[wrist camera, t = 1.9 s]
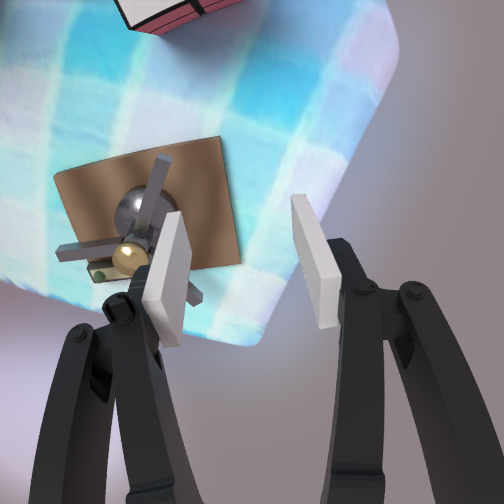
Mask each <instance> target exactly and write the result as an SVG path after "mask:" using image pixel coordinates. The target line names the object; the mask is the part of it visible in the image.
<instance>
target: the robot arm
mask: <svg viewBox="0 0 504 504" xmlns="http://www.w3.org/2000/svg"><path fill="white" fill-rule="evenodd" d="M291 210H292V226H293V240H294V243H295V247H296V250H297V253H298V257H299V260H300V264H301V267H302V270H303V274H304V277H305V281H306V284H307V287H308V291H309V295H310V298H311V302H312V305H313V309H314V312H315V316H316V320H317V323H318V327H319V329H324V328H330V327H336V326H337V322H338V319H339V322H340V325H341V330H340V338H339V359H338V371H337V383H336V395H335V404H334V414H333V423H332V431H331V439H330V446H329V454H328V461H327V467H326V474H325V480H324V486H323V492H322V495H321V500H320V504H384V494H385V475H384V473H383V471H382V460H383V459H382V458H383V442H384V352H383V340H388V341H389V344H390V347H391V350H392V352H393V355H394V358H395V361H396V364H397V367H398V370H399V373H400V375H401V379H402V382H403V385H404V388H405V391H406V394H407V398H408V401H409V404H410V407H411V411H412V414H413V417H414V421H415V424H416V428H417V431H418V435H419V438H420V442H421V446H422V450H423V454H424V458H425V461H426V466H427V470H428V474H429V478H430V483H431V486H432V491H433V496H434V499H435V503H436V504H504V456H503V452H502V449H501V446H500V443H499V440H498V437H497V435H496V432H495V429H494V426H493V423H492V421H491V418H490V415H489V413H488V410H487V408H486V405H485V403H484V400H483V398H482V395H481V393H480V390H479V388H478V386H477V384H476V381H475V379H474V376H473V374H472V372H471V370H470V367H469V365H468V363H467V361H466V359H465V357H464V354H463V352H462V350H461V348H460V346H459V344H458V342H457V340H456V338H455V336H454V334H453V332H452V330H451V328H450V326H449V324H448V322H447V320H446V319H445V317H444V315H443V313H442V311H441V309H440V307H439V305H438V303H437V302H436V300H435V298H434V296H433V294H432V293H431V291H430V289H429V288H428V287H427V286H426V285H424V284H422V283H420V282H416V281H408V282H405V283H403V284H402V285H401V286H400V289H399V290H387V289H381V288H379V287H378V285H377V284H376V283H375V282H374V281H372V280H370V279H368V278H367V276H366V274H365V272H364V270H363V268H362V267H361V264H360V263H359V261H358V259H357V257H356V255H355V253H354V252H353V249H352V247H351V245H350V244H349V243H348V242H347V241H345V240H344V239H343V238H337V239H329V240H326V238H325V236H324V234H323V232H322V229H321V227H320V225H319V223H318V221H317V218H316V216H315V214H314V212H313V210H312V208H311V205H310V203H309V201H308V199H307V197H306V195H305V194H298V195H291ZM191 258H192V251H191V247H190V243H189V240H188V236H187V232H186V228H185V225H184V221H183V217H182V213H181V211H177V212H171V213H167V215H166V218H165V221H164V224H163V227H162V231H161V234H160V237H159V240H158V244H157V247H156V250H155V254H154V257H153V260H152V264H149V265H141V266H139V267H138V269H137V270H136V271H135V272H134V273H133V276H132V280H131V283H130V286H129V289H128V292H119V293H116V294H113V295H111V296H110V297H109V298H107V299H106V300H105V302H104V303H103V306H102V310H103V312H104V314H105V315H106V317H107V319H108V321H109V322H110V324H109V325H106V326H104V327H101V328H98V329H95V330H94V329H93V327H92V326H91V325H89V324H87V323H82V324H78V325H76V326H75V327H73V328H72V329H71V330H70V331H69V332H68V334H67V336H66V339H65V342H64V345H63V348H62V351H61V354H60V358H59V361H58V364H57V368H56V371H55V374H54V378H53V381H52V385H51V389H50V392H49V396H48V400H47V404H46V408H45V412H44V417H43V421H42V425H41V429H40V435H39V439H38V444H37V449H36V455H35V460H34V466H33V472H32V479H31V486H30V494H29V503H28V504H105V494H106V492H105V491H106V478H107V464H108V453H109V443H110V434H111V425H112V417H113V410H114V403H115V398H116V407H117V415H118V422H119V428H120V436H121V442H122V448H123V454H124V460H125V465H126V470H127V475H128V480H129V485H130V492H129V493H128V494H127V495H126V504H204V503H203V501H202V499H201V497H200V494H199V491H198V489H197V485H196V482H195V479H194V476H193V473H192V470H191V467H190V463H189V460H188V457H187V454H186V450H185V447H184V444H183V441H182V437H181V433H180V429H179V426H178V423H177V418H176V415H175V411H174V407H173V404H172V399H171V396H170V391H169V387H168V382H167V378H166V374H165V369H164V365H163V361H162V356H161V353H160V351H159V349H158V345H159V340H160V342H161V344H162V345H163V347H176V346H181V338H182V329H183V320H184V311H185V303H186V295H187V287H188V280H189V272H190V265H191Z"/></svg>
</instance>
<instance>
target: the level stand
mask: <svg viewBox="0 0 504 504" xmlns="http://www.w3.org/2000/svg"><path fill="white" fill-rule="evenodd" d="M159 152H160V153H162V154H165V155H168V156H171V157H173V160H172V163H171V165H170V168H169V171H168V173H167V176H166V179H165V182H164V184H163V187H162V189H163V190H165V191H166V192H167V193H169V194H170V195H171V197H172V198H173V199H174V201H175V203H176V205H177V208H178V211H181V213H182V217H183V221H184V225H185V228H186V232H187V236H188V240H189V243H190V247H191V251H192V258H191V265H190V270H197V269H204V268H212V267H220V266H227V265H235V264H241V261H240V253H239V247H238V242H237V236H236V230H235V224H234V218H233V213H232V207H231V201H230V195H229V189H228V183H227V177H226V171H225V165H224V159H223V153H222V147H221V141H220V136H216V137H210V138H204V139H198V140H192V141H186V142H181V143H176V144H171V145H166V146H161V147H156V148H151V149H146V150H142V151H137V152H133V153H129V154H124V155H120V156H116V157H112V158H108V159H104V160H100V161H97V162H93V163H89V164H86V165H82V166H78V167H75V168H71V169H68V170H65V171H61V172H58V173H56V174H55V175H54V176H53V178H54V181H55V184H56V187H57V189H58V192H59V195H60V197H61V200H62V202H63V205H64V208H65V210H66V213H67V215H68V218H69V220H70V222H71V225H72V227H73V230H74V232H75V234H76V237H77V239H78V241H79V242H85V241H92V240H99V239H106V238H113V237H121V236H120V235H119V233H118V231H117V229H116V227H115V223H114V214H115V210H116V208H117V206H118V204H119V203H120V201H121V199H122V198H123V196H124V195H125V194H126V192H127V191H129V190H130V189H132V188H134V187H136V186H140V185H147V183H148V180H149V177H150V174H151V171H152V168H153V165H154V162H155V160H156V157H157V155H158V154H159ZM155 249H156V248H155ZM87 261H88V263H89V264H88V266H87V270H88V272H89V274H90V276H91V278H92V280H93V282H94V283H102V282H110V281H118V280H126V279H132V277H130V276H126V275H123V274H121V273H120V272H119V271H118V270H117V269H116V268H115V267H114V265H113V262H112V256H108V257H99V258H91V259H87Z"/></svg>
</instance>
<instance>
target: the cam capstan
mask: <svg viewBox="0 0 504 504" xmlns="http://www.w3.org/2000/svg"><path fill="white" fill-rule="evenodd" d="M172 160H173V157H171V156H168V155H165V154H162V153H160V152H159V154H158V155H157V157H156V160H155V162H154V165H153V168H152V171H151V174H150V177H149V180H148V183H147V185H140V186H136V187H134V188H132V189H130V190H129V191H127V192H126V194H125V195H124V196H123V198H122V199H121V201H120V203H119V204H118V206H117V208H116V210H115V214H114V223H115V227H116V229H117V231H118V233H119V235H120V236H121V237H113V238H106V239H99V240H92V241H85V242H78V243H71V244H64V245H60V246H59V247H58V249H57V250H56V252H55V253H56V255H57V257H58V260H59V262H66V261H74V260H82V259H91V258H99V257H108V256H112V262H113V265H114V267H115V268H116V269H117V270H118V271H119V272H120V273H121V274H123V275H126V276H130V277H132V276H133V273H134V272H135V271H136V270H137V269H138V267H139V266H141V265H149V264H152V260H153V257H154V254H155V250H156V249H155V248H156V247H157V244H158V240H159V237H160V234H161V231H162V227H163V224H164V221H165V218H166V215H167V213H171V212H177V211H178V208H177V205H176V203H175V201H174V199H173V198H172V197H171V195H170V194H169V193H167V192H166V191H165V190H163V189H162V187H163V184H164V182H165V179H166V176H167V173H168V171H169V168H170V165H171V163H172ZM186 301H187V302H188V303H189V304H190V305H192V306H193V307H194V306H196V305H198V304H199V303H201V302H202V301H203V293H202V292H201V291H200V290H199V289H197V288H196V287H195V286H194V285H193V284H192V283H191V282H190V281H189V280H188V287H187V295H186Z"/></svg>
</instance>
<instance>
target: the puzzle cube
mask: <svg viewBox="0 0 504 504" xmlns="http://www.w3.org/2000/svg"><path fill="white" fill-rule="evenodd" d="M240 1H243V0H114V2H115V4H116V6H117V8H118V10H119V12H120V14H121V16H122V18H123V20H124V22H125V24H126V26H127V28H128V30H133V31H139V32H144V33H149V34H155V35H162V34H164V33H166V32H168V31H170V30H172V29H174V28H176V27H178V26H181V25H183V24H185V23H187V22H189V21H192V20H194V19H196V18H198V17H201V15H202V13H205V14H208V13H210V12H213V11H215V10H218V9H221V8H223V7H226V6H229V5H231V4H234V3H237V2H240Z"/></svg>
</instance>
